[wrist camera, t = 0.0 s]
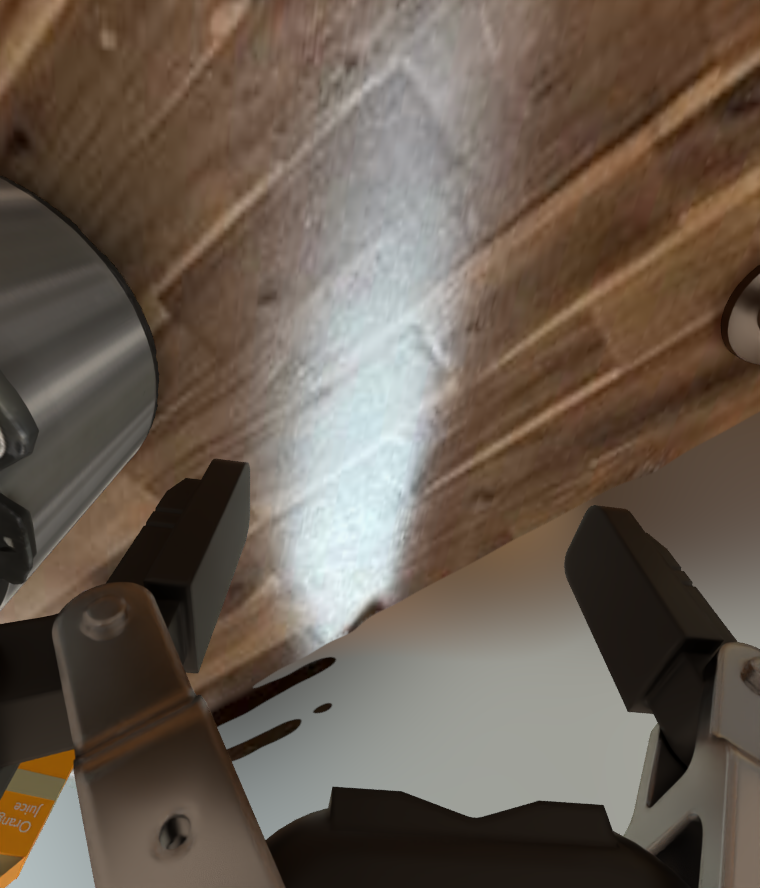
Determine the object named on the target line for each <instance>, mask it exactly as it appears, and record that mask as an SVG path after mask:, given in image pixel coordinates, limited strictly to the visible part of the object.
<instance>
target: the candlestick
mask: <svg viewBox="0 0 760 888" xmlns="http://www.w3.org/2000/svg"><path fill="white" fill-rule="evenodd" d="M721 333H722V339H723V341H724V343H725V345H726V347H727V348H728V349H729V350H730V352H731V353H733V354H734V355H736V356H737V357H739V358H741V359H743V360H745V361H748V362H750V363H753V364H760V265H759V266H758V267H757V268H755V269H754V270H753V271H752V272H751V273H750V274H748V275H747V276H746V277H745V278H744V279H743V281H742V282H741V283H740V284H739V285H738V286H737V288H736V289H735V291H734V292H733V293H732V295H731V296H730V298H729V300H728V302H727V304H726V307H725V309H724V313H723V316H722V322H721Z"/></svg>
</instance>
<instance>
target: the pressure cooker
mask: <svg viewBox="0 0 760 888" xmlns="http://www.w3.org/2000/svg"><path fill="white" fill-rule="evenodd" d="M158 384H159V372H158V362H157V360H156V349H155V344H154V340H153V336H152V333H151V330H150V327H149V325H148V323H147V321H146V318H145V316H144V314H143V312H142V309H141V307H140V305H139V303H138V302H137V300H136V298H135V296H134V294H133V292H132V290H131V289H130V287H129V286H128V285H127V283H126V281H125V280H124V278H123V276H122V275H121V274H120V273H119V272H118V270H117V268H115V265H113V264H112V263H111V262H110V260H109V259H108V258H107V256H106V255H104V254H102V253H101V252H100V251H99V250H98V249H97V248H96V247H95V246H94V245H93V244H92V243H91V242H90V241H89V239H88V238H87V237H86V236H85V235H84V234H83V233H82V232H81V231H80V229H79V228H78V227H77V225H75V224H74V223H73V222H72V221H71V220H70V219H68V218H67V217H65V216H64V215H63V214H62V213H61V212H59V211H57V210H56V209H55V208H53V207H52V206H51V205H50V204H49V203H48V202H46V201H44V200H43V199H41V198H40V197H38V196H37V195H35V194H34V193H33V192H30V191H29V190H27V189H25V188H24V187H22V186H20V185H18V184H16V183H15V182H14V181H11V180H9V179H8V178H6V177H3V176H0V611H1V610H2V609H3V607H4V606H5V605H6V604H7V603H8V602H9V600H10V599H11V598H12V597H13V596H14V595H15V593H16V592H17V591H18V590H19V589H20V588H21V586H22V585H23V584H24V583H25V582H26V581H27V579H28V578H29V577H30V576H31V575H32V574H33V573H34V571H35V570H36V569H37V568H38V567H39V566H40V564H41V563H42V562H43V561H44V560H45V559H46V557H47V556H48V555H49V554H50V553H51V552H52V550H53V549H54V548H55V547H56V546H57V545H58V543H59V542H60V541H61V540H62V539H63V538H64V536H65V535H66V534H67V533H68V532H69V531H70V529H71V528H72V527H73V526H74V525H75V524H76V522H77V521H78V520H79V519H80V518H81V517H82V515H83V514H84V513H85V512H86V511H87V510H88V508H89V507H90V506H91V505H92V504H93V503H94V501H95V500H96V499H97V498H98V497H99V495H100V494H101V493H102V492H103V491H104V490H105V488H106V487H107V486H108V485H109V484H110V483H111V481H112V480H113V479H114V478H115V477H116V476H117V474H118V473H119V472H120V471H121V470H122V468H123V467H124V466H125V465H126V464H127V463H128V462H129V461H130V460H131V458H132V457H133V456H134V455H135V454H136V452H137V451H138V449H139V448H140V446H141V445H142V443H143V441H144V440H145V438H146V436H147V435H148V433H149V430H150V428H151V427H152V423H153V420H154V418H155V414H156V410H157V406H158V405H157V399H158Z"/></svg>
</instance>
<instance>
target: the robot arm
mask: <svg viewBox="0 0 760 888" xmlns="http://www.w3.org/2000/svg"><path fill="white" fill-rule="evenodd" d="M249 518H250V467H249V463H246V462H238V461H230V460H221V459H213V460H212V462H211V463H210V465H209V467H208V469H207V470H206V472H205V474H204V476H203V477H202V479H201V480H198V479H190V478H185V479H184V480H182V481H181V482H180V483H178V484H177V485H175V486H174V487H172V488H171V489H169V490H168V491H167V492H166V493H165V495H164V496H163V498H162V499H161V501H160V502H159V504H158V505H157V507H156V510H155V512H154V511H153V513H152V514H151V516H150V517H149V519H148V520H147V522H146V526H144V527H143V528H142V530H141V531H140V533H139V534H138V536H137V537H136V539H135V540H134V542H133V543H132V545H131V546H130V548H129V549H128V551H127V552H126V554H125V555H124V557H123V558H122V560H121V561H120V563H119V564H118V566H117V567H116V569H115V570H114V572H113V574H112V575H111V577H110V578H109V580H108V581H107V582H106V584H103V585H99V586H96V587H94V588H91V589H89V590H87V591H85V592H83V593H81V594H80V595H78V596H77V597H75V598H74V599H72V600H71V601H70V602H69V603H68V604H66V606H65V607H64V608H63V609H62V610H61V611H60V613H58V614H55V615H51V616H46V617H41V618H35V619H29V620H22V621H16V622H10V623H4V624H0V800H1V798H2V796H3V794H4V792H5V790H6V789H7V787H8V785H9V783H10V781H11V779H12V778H13V776H14V774H15V772H16V770H17V768H18V767H19V765H20V763H22V762H26V761H30V760H34V759H38V758H42V757H46V756H50V755H53V754H57V753H61V752H65V751H69V750H73V749H74V752H75V759H74V761H73V766H74V775H75V781H76V787H77V792H78V798H79V803H80V808H81V814H82V819H83V824H84V830H85V835H86V840H87V846H88V851H89V856H90V862H91V867H92V872H93V878H94V882H95V887H96V888H760V649H758V648H756V647H754V646H751V645H748V644H744V643H739V642H737V640H736V639H735V638H734V637H733V635H732V634H731V633H730V631H729V630H728V629H727V627H726V626H725V625H724V623H723V622H722V621H721V619H720V618H719V617H718V615H717V614H716V613H715V612H714V610H713V609H712V608H711V606H710V605H709V604H708V602H707V601H706V600H705V598H704V597H703V596H702V594H701V593H700V592H699V590H698V589H697V588H696V587H693V586H692V581H691V580H690V579H689V577H688V576H687V575H686V573H685V572H684V571H681V567H680V566H679V564H678V563H677V562H676V560H675V559H674V558H673V556H672V555H671V554H670V552H669V551H668V550H667V549H666V548H665V547H664V546H662V545H661V544H660V543H659V542H658V541H656V540H655V539H654V538H653V537H652V536H650V535H649V534H648V533H645V531H644V530H643V529H642V527H641V526H640V525H639V523H638V522H637V521H636V519H635V518H634V516H633V515H632V514H631V513H630V512H629V511H628V510H626V509H621V508H612V507H604V506H596V505H594V506H591V507H590V508H589V509H588V510H587V511H586V513H585V515H584V517H583V519H582V521H581V523H580V525H579V528H578V530H577V532H576V534H575V536H574V538H573V540H572V542H571V544H570V546H569V548H568V551H567V553H566V556H565V574H566V578H567V580H568V582H569V585H570V587H571V589H572V591H573V593H574V595H575V598H576V600H577V602H578V604H579V606H580V608H581V611H582V613H583V615H584V617H585V619H586V621H587V624H588V626H589V628H590V630H591V632H592V635H593V637H594V639H595V641H596V643H597V645H598V648H599V650H600V652H601V654H602V656H603V658H604V661H605V663H606V665H607V667H608V669H609V671H610V674H611V676H612V678H613V680H614V682H615V684H616V686H617V689H618V691H619V693H620V695H621V697H622V699H623V702H624V704H625V706H626V708H627V711H628V712H637V713H650V714H654V716H655V718H656V720H657V722H658V723H657V725H656V726H655V727H654V729H653V730H652V731H651V734H650V739H649V743H648V748H647V752H646V757H645V762H644V767H643V772H642V776H641V781H640V786H639V790H638V795H637V800H636V804H635V809H634V813H633V817H632V820H631V823H630V825H629V827H628V829H627V831H626V832H625V834H624V836H622V835H620V834H618V833H616V832H614V831H613V830H612V827H611V825H610V822H609V819H608V816H607V813H606V811H605V808H604V805H595V804H580V803H566V802H551V801H537V802H534V803H530V804H526V805H523V806H519V807H515V808H512V809H509V810H505V811H501V812H498V813H495V814H491V815H487V816H484V817H479V818H472V817H468V816H465V815H462V814H460V813H457V812H455V811H452V810H449V809H446V808H444V807H441V806H439V805H436V804H433V803H431V802H428V801H426V800H423V799H420V798H418V797H415V796H412V795H410V794H407V793H404V792H402V791H388V790H374V789H358V788H343V787H332V792H331V797H330V802H329V807H328V808H327V809H323V810H320V811H316V812H313V813H310V814H308V815H306V816H303V817H301V818H299V819H296V820H295V821H293V822H291V823H289V824H288V825H286V826H285V827H283V828H281V829H279V830H278V831H277V832H275V833H274V834H273V835H272V836H270V837H269V838H268V839H267V840H265V839H264V836H263V834H262V832H261V829H260V827H259V825H258V822H257V820H256V818H255V815H254V813H253V811H252V808H251V806H250V804H249V801H248V799H247V796H246V794H245V792H244V789H243V787H242V785H241V782H240V780H239V778H238V775H237V774H236V771H235V768H234V766H233V764H232V761H231V759H230V757H229V754H228V752H227V750H226V747H225V745H224V743H223V740H222V738H221V736H220V733H219V731H218V729H217V726H216V724H215V722H214V719H213V717H212V715H211V712H210V710H209V708H208V706H207V704H206V702H205V701H204V699H203V698H202V696H201V695H198V696H196V694H195V693H194V691H193V689H192V687H191V685H190V682H189V680H188V677H187V675H186V673H185V672H187V673H198V672H199V669H200V667H201V664H202V661H203V658H204V656H205V653H206V650H207V647H208V644H209V642H210V639H211V636H212V633H213V630H214V628H215V625H216V622H217V619H218V617H219V614H220V611H221V608H222V605H223V603H224V600H225V597H226V594H227V591H228V589H229V586H230V583H231V580H232V578H233V575H234V572H235V569H236V566H237V564H238V561H239V558H240V555H241V552H242V550H243V547H244V544H245V541H246V537H247V533H248V527H249Z"/></svg>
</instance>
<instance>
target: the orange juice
mask: <svg viewBox="0 0 760 888" xmlns="http://www.w3.org/2000/svg"><path fill="white" fill-rule="evenodd" d="M74 759H75V752H74V749H73V750H69V751H65V752H61V753H57V754H53V755H50V756H46V757H42V758H38V759H34V760H30V761H26V762H22V763H20V765H19V767H18V768H17V770H16V772H15V774H14V776H13V778H12V779H11V781H10V783H9V785H8V787H7V789H6V790H5V792H4V794H3V796H2V798H1V800H0V888H5V887H6V886H7V885H9V884H10V883H11V882H12V881H13V880H15V879H17V877H18V876H19V874H20V872H21V870H22V867H23V865H24V863H25V861H26V859H27V857H28V855H29V853H30V851H31V849H32V847H33V846H34V844H35V842H36V840H37V838H38V836H39V834H40V832H41V830H42V828H43V826H44V825H45V823H46V821H47V819H48V817H49V815H50V813H51V811H52V809H53V807H54V805H55V803H56V800H57V798H58V797H59V794H60V793H61V791H62V789H63V787H64V785H65V783H66V781H67V779H68V777H69V775H70V773H71V771H72V769H73V767H74V766H73V761H74Z"/></svg>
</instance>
